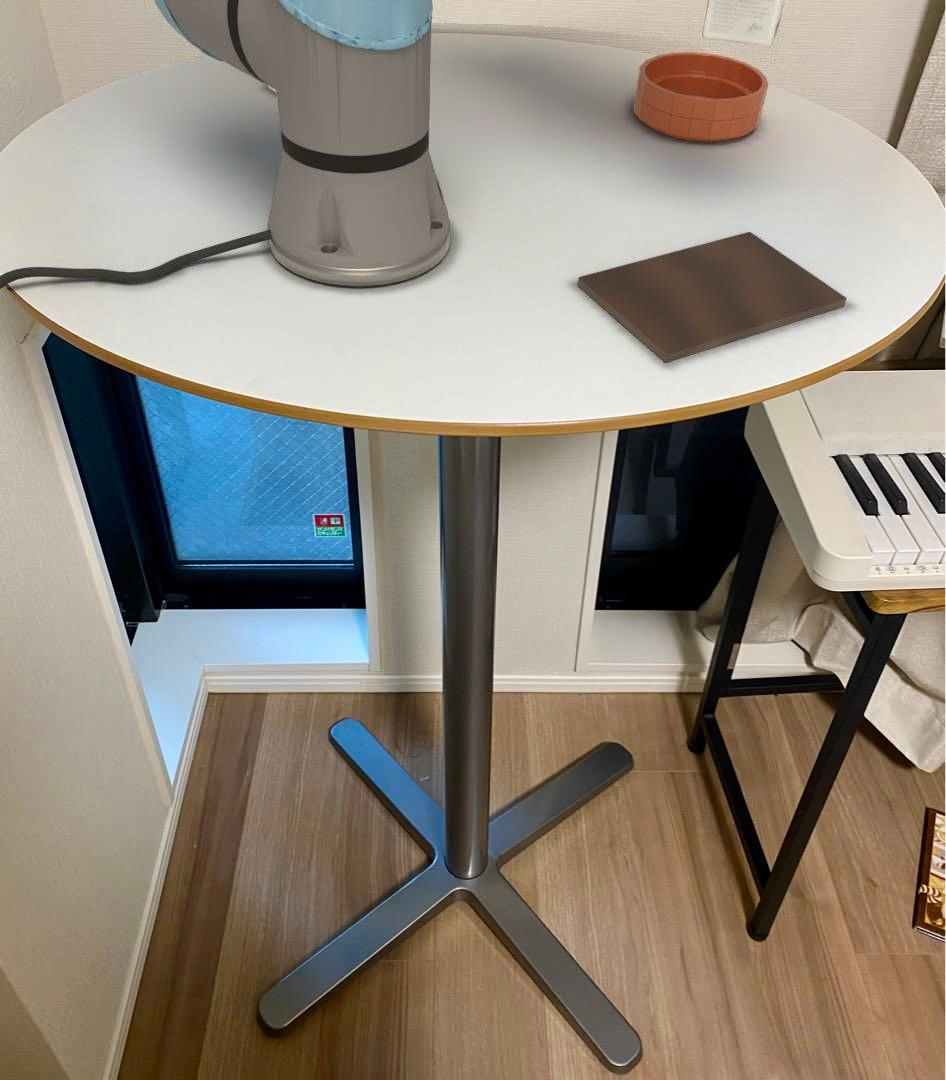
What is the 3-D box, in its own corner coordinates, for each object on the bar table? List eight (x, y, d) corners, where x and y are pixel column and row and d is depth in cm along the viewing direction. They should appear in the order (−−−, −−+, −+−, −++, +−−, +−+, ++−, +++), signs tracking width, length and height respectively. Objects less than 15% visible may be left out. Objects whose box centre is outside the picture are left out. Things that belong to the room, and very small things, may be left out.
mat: (665, 363, 74) (667, 353, 73) (577, 285, 81) (578, 276, 80) (844, 306, 80) (847, 297, 80) (747, 239, 87) (749, 231, 87)
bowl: (683, 154, 99) (691, 109, 96) (608, 106, 107) (614, 62, 104) (783, 132, 104) (794, 88, 101) (704, 87, 112) (713, 45, 109)
